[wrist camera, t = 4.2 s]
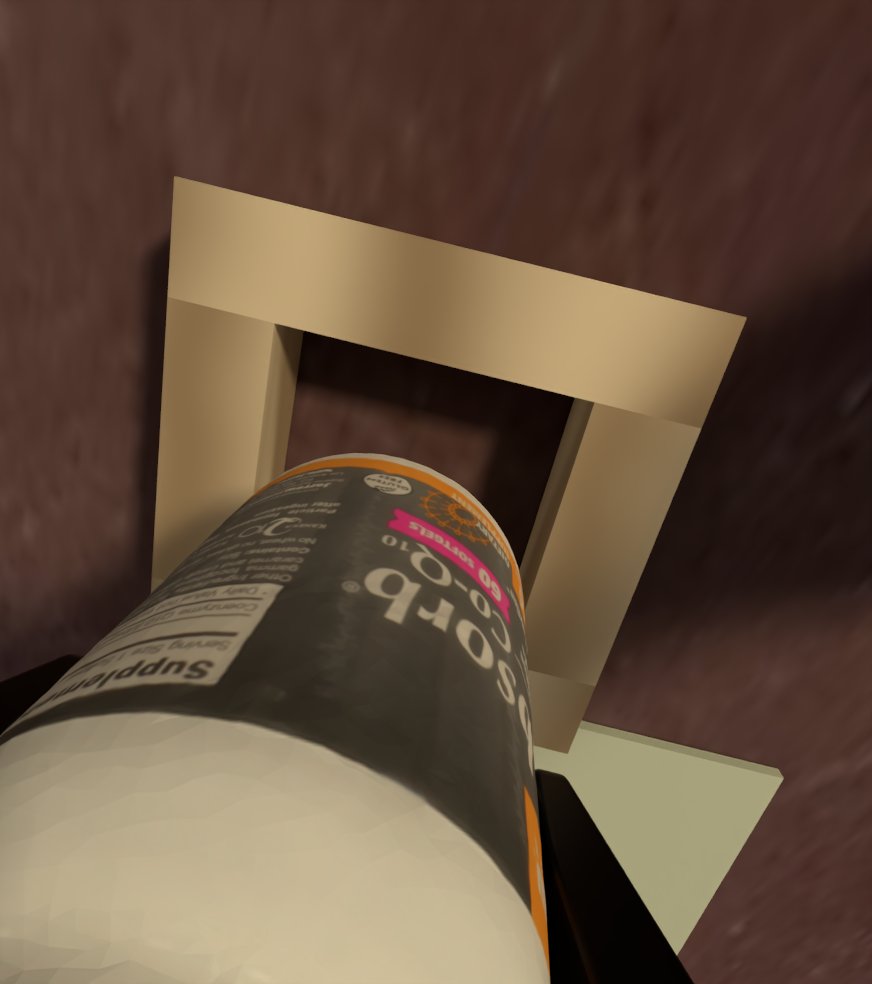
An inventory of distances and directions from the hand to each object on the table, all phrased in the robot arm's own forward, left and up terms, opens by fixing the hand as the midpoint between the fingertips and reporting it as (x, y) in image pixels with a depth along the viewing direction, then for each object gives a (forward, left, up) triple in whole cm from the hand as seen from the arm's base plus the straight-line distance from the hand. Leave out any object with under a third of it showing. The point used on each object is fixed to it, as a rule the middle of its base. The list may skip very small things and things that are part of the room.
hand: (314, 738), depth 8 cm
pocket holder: (0, 0, -10) cm, 10 cm away
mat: (-9, +12, -10) cm, 18 cm away
